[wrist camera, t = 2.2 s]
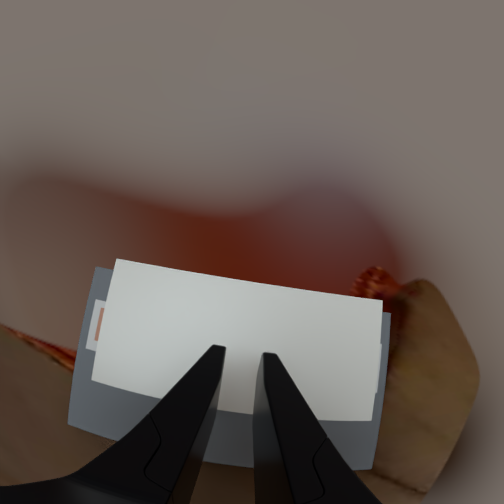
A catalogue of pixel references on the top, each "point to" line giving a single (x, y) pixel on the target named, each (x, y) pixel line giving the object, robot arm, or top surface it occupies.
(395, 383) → the top surface
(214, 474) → the top surface
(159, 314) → the block
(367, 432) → the plate
